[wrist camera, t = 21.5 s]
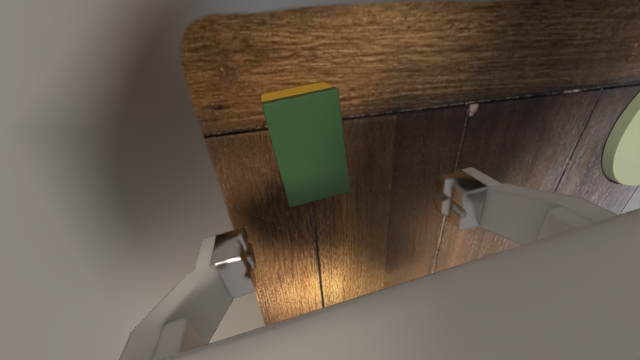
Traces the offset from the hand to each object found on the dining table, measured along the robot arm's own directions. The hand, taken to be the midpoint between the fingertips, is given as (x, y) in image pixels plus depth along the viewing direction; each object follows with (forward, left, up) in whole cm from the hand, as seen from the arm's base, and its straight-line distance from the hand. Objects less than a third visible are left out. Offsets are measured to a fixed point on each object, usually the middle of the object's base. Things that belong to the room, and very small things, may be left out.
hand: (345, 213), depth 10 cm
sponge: (+1, 0, -12) cm, 12 cm away
